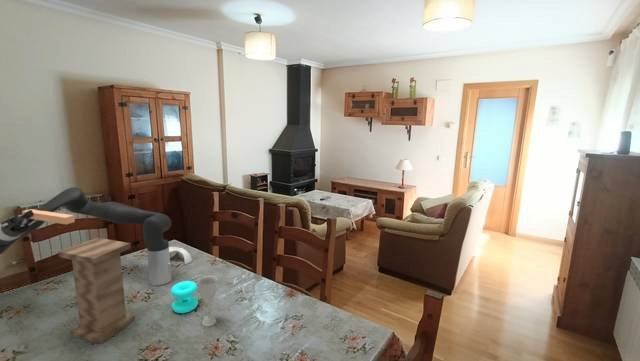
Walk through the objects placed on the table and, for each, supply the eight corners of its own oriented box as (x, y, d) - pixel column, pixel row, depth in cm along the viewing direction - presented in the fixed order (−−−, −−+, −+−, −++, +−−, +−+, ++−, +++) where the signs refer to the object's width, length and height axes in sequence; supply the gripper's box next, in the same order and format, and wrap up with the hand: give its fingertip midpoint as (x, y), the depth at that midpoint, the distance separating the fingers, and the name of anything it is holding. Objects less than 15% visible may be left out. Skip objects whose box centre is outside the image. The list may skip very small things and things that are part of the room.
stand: (69, 334, 111) (58, 251, 105) (105, 312, 124) (97, 237, 118) (103, 344, 107) (93, 258, 101) (137, 320, 120) (130, 243, 114)
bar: (23, 217, 116) (22, 211, 115) (32, 215, 118) (31, 209, 118) (66, 224, 110) (65, 217, 109) (74, 221, 113) (74, 215, 112)
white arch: (150, 258, 174) (150, 246, 173) (168, 251, 185) (168, 239, 183) (180, 267, 164) (179, 255, 163) (197, 259, 175) (197, 247, 174)
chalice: (222, 319, 122) (221, 277, 119) (211, 329, 116) (209, 285, 113) (207, 314, 125) (205, 273, 121) (195, 325, 118) (193, 282, 115)
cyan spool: (165, 288, 125) (185, 277, 134) (166, 310, 127) (186, 298, 136) (182, 294, 121) (202, 283, 130) (184, 317, 123) (203, 304, 132)
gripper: (-15, 225, 114) (9, 206, 108) (29, 214, 127) (53, 198, 122) (-5, 243, 114) (19, 225, 108) (38, 230, 127) (62, 214, 122)
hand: (37, 211), depth 115 cm, fingers closed on bar, 3 cm apart
